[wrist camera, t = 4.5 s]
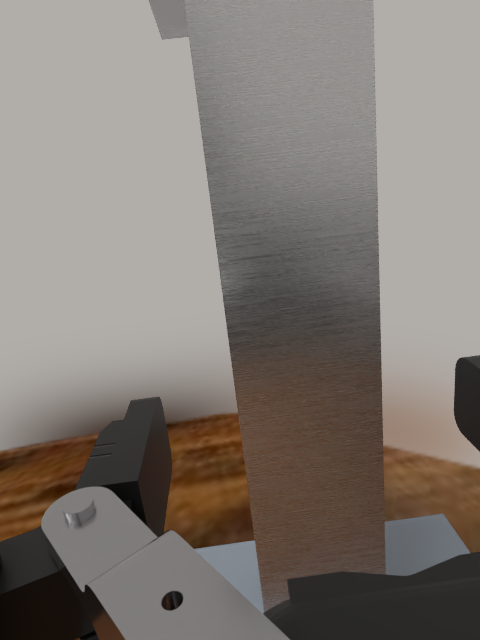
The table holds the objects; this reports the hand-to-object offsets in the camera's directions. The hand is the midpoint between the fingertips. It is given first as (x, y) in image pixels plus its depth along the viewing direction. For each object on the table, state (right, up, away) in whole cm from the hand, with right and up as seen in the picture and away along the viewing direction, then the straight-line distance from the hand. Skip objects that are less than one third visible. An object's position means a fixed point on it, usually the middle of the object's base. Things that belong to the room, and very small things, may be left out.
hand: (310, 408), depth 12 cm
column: (+1, -11, +6) cm, 12 cm away
